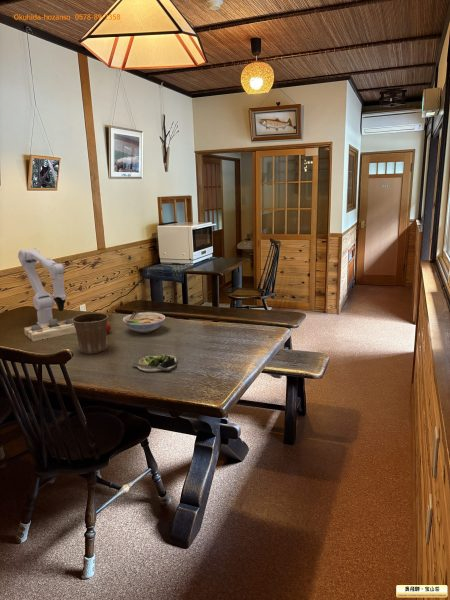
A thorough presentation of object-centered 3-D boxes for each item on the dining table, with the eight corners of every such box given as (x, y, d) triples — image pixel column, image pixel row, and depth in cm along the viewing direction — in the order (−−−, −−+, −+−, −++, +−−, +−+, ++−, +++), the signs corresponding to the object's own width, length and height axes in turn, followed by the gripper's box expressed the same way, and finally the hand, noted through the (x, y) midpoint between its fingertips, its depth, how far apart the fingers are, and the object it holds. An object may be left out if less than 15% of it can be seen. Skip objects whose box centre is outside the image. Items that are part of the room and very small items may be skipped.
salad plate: (129, 375, 179) (128, 365, 178) (134, 359, 196) (133, 350, 195) (176, 373, 180) (176, 363, 179) (177, 358, 198) (176, 348, 197)
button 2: (48, 327, 234) (47, 319, 233) (56, 326, 237) (55, 318, 236) (51, 329, 231) (50, 321, 230) (59, 328, 233) (58, 320, 232)
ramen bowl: (162, 338, 224) (161, 323, 222) (118, 338, 224) (117, 323, 222) (169, 324, 248) (168, 310, 246) (129, 324, 248) (128, 310, 246)
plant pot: (73, 357, 198) (70, 323, 194) (75, 345, 213) (73, 314, 209) (110, 354, 202) (108, 320, 198) (110, 342, 217) (107, 311, 213)
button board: (24, 334, 230) (23, 327, 229) (74, 324, 247) (73, 318, 246) (33, 341, 219) (32, 334, 218) (85, 330, 236) (84, 323, 235)
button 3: (65, 327, 240) (64, 319, 239) (72, 325, 243) (72, 318, 242) (68, 329, 237) (67, 321, 236) (75, 327, 239) (75, 319, 238)
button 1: (31, 334, 229) (30, 325, 228) (39, 332, 232) (38, 324, 230) (33, 336, 226) (32, 327, 224) (42, 334, 228) (41, 326, 227)
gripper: (46, 285, 237) (49, 309, 240) (55, 289, 226) (58, 314, 229) (59, 283, 241) (61, 307, 245) (69, 287, 231) (71, 312, 234)
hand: (61, 310), depth 237 cm, fingers closed
